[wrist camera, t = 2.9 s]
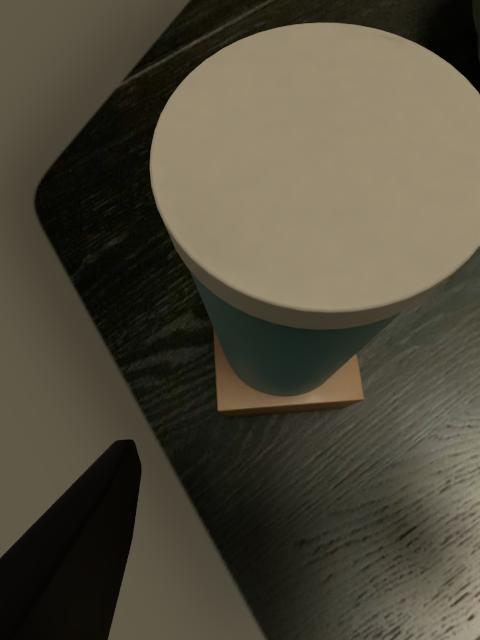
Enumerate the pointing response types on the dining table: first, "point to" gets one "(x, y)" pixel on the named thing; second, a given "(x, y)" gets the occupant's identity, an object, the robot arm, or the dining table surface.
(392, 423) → the dining table surface
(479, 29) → the bowl
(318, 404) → the stepped wooden block
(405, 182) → the teal cup
